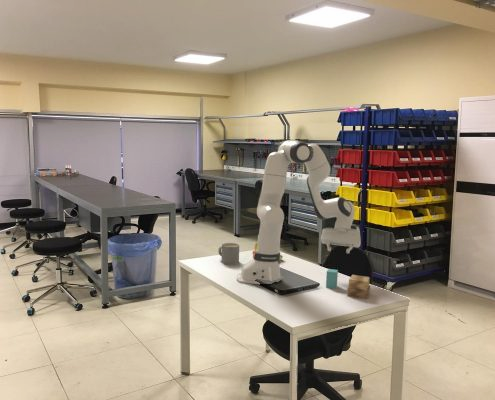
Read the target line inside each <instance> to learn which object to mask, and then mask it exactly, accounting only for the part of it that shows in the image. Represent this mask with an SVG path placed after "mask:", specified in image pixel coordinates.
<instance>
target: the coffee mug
mask: <svg viewBox="0 0 495 400" xmlns="http://www.w3.org/2000/svg"><path fill="white" fill-rule="evenodd" d="M217 251H218V255H219V256H220V257H221V259H220V260H221V264H224V265H237V264H239V263H240V244H239V243H235V242H225V243H222V244H221V246H219V247H218V250H217Z"/></svg>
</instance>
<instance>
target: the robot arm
mask: <svg viewBox="0 0 495 400" xmlns="http://www.w3.org/2000/svg"><path fill="white" fill-rule="evenodd" d="M290 164H299V165H300V164H304V165H305V168H306V170H307V172H308V176H307V178H306V184H307V188H308V191H309V192H308V193H309V195H310V197H311V198H310V199H311V202H312V204H313V206H312V207H313V211H314V215H315V217H316V218H318V219H320V220H321V221H323V220H327V219H331V218H336V221H335V223H334V227H325V228H323V229H322V232H321V236H320V243H322V244H324V245H326V246H327V251H328V252H331V250H332V246H331V245H334V246H340V247H342V246H344V247H348V248H346V251H345V252H346V254H350V251H352V250H353V248H360V247H361V244H362V243H361V242H362V241H361V231H360V227H359V226H356V225H354V224H353V222H354V217H355V206H354V203H353V202H351V201H348V200H347V199H346V198H344V197H342V196H340V197H335V198H329V199H326V200H325V199H323V198H322V196H321V191H320V188H319V185H320V184H322V183H323V182H324V181H326V179H327V178H328V177H329V176H330V173H331V166H330V163H329V161H328V159H327V156H326V155H325V153H324V151H323V150H322V148H321V147H320V146H319V145H318V144H317V143H309V144H308V143H306V142H305V141H302V140H297V139H285V140H282V141H281V142H280V143H279V144H278V145H277V147H276V150H275V151H273V152H271V153H269V155H268V156H267V158H266V162H265V166H264V171H263V178H262V183H261V184H262V185H261V190H260V194H259V198H258V202H257V207H256V216H257V218H258V219H259V220H260V223H259V232H258V234H257V243H258V250H257V251H255V250H253V251H252V259H251V260H249V261H248V262H246V263H245V264H244V265H243V266H242V268H241V272H240V273H238V274H237V275H236V281H237V282H238V283H240V284H241V283H242V284H243V283H244V284H250V285H251V284H253V285H260V283H259V282H257V281H255V280H256V279H262V280H270V281H273V280H277V279H279V278H281V279H282V276H281V274H282V273H281V267H280V266H281V265H280V264H281V261H280V257H281V255H282V254H281V252H280V250H281V234H282V230H283V225H284V224H283V223H284V220H285V213H284V211H283V209H282V208H281V202H282V198H283V196H284V194H285V189H286V188H285V187H286V183H287V182H286V181H287V176H288V175H287V174H288V169H289V166H290Z"/></svg>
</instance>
